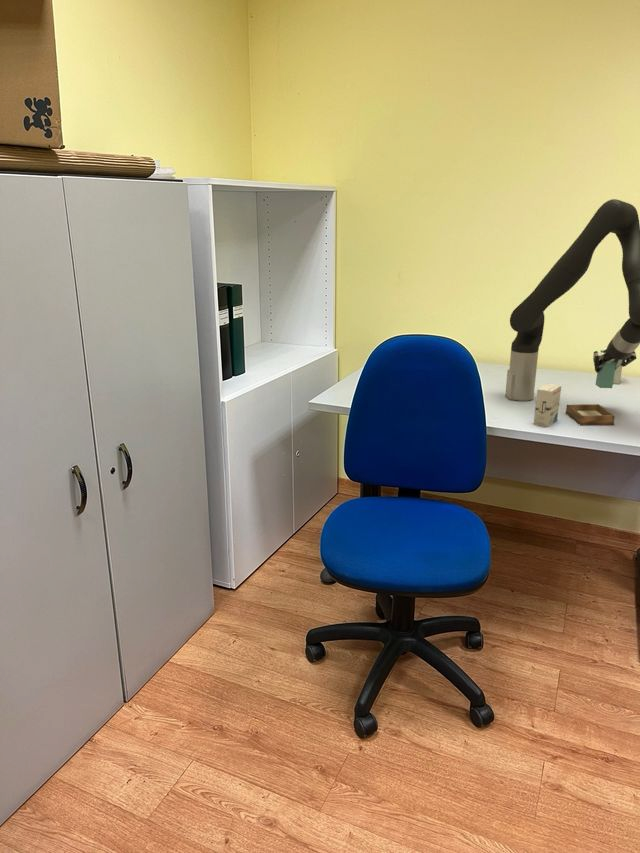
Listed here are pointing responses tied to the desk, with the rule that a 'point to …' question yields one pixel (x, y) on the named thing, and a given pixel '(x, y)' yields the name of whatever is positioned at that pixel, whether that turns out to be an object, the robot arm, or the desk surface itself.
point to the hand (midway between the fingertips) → (603, 370)
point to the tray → (590, 414)
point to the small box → (617, 375)
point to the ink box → (547, 404)
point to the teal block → (606, 375)
